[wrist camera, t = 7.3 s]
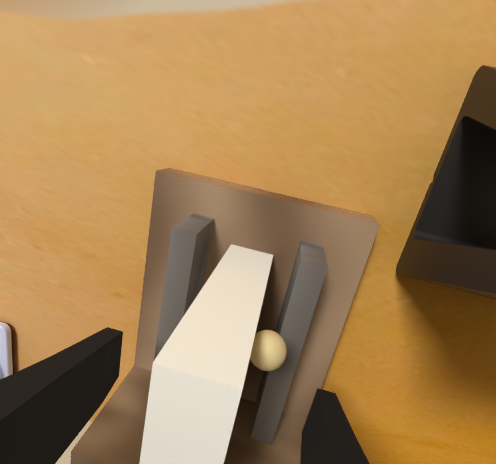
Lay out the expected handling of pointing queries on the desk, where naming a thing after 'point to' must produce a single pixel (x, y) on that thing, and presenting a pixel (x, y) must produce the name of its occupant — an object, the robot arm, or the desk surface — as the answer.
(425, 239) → the phone stand
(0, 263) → the desk surface
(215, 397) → the cabinet door
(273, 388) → the brown base with rails
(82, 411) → the robot arm
